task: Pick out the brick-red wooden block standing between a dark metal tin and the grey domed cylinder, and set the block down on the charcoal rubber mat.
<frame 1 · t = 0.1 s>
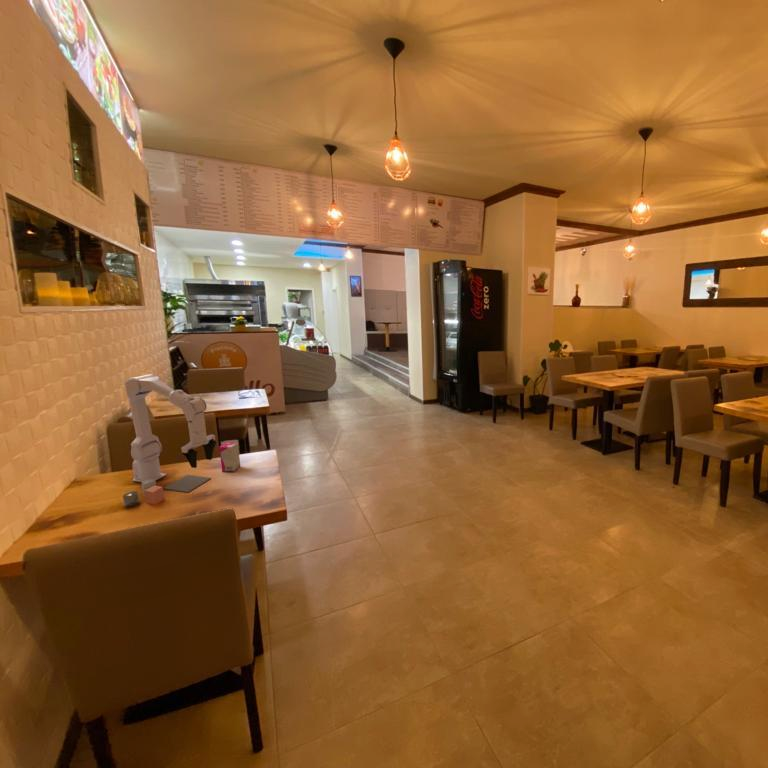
hand: (201, 463, 141), 10 cm above the table, tool pointing down, fingers open, 7 cm apart
charcoal mat: (187, 483, 146), on the table
supplement box: (231, 469, 159), on the table
metal tin: (132, 504, 132), on the table
grey domed cylinder: (150, 493, 139), on the table
red block: (155, 501, 134), on the table
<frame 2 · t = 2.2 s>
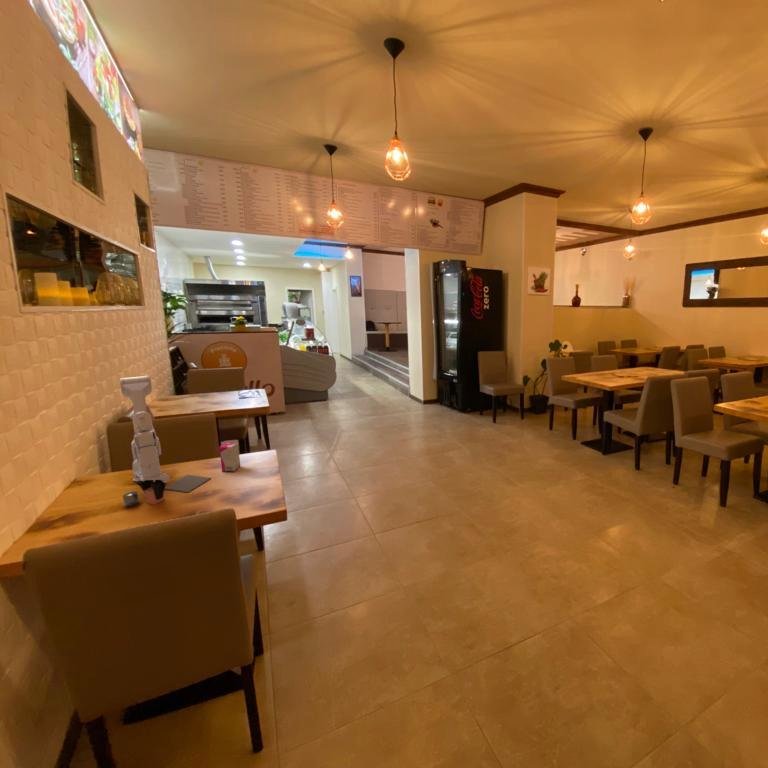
hand: (155, 497, 133), 1 cm above the table, tool pointing down, fingers closed on red block, 4 cm apart
red block: (155, 501, 133), on the table, touching gripper
everything else where it was.
when the fingers open (3 cm above the table, at t = 6.4 s): red block drops 1 cm, resting on charcoal mat.
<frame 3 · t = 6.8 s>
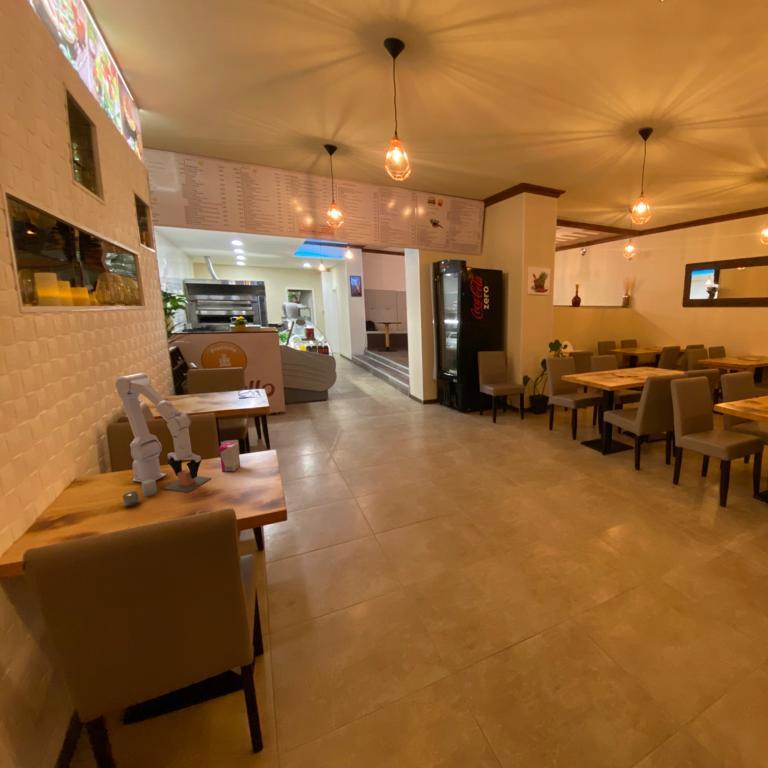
hand: (186, 476, 146), 3 cm above the table, tool pointing down, fingers open, 7 cm apart
red block: (187, 483, 146), resting on charcoal mat
everything else where it was.
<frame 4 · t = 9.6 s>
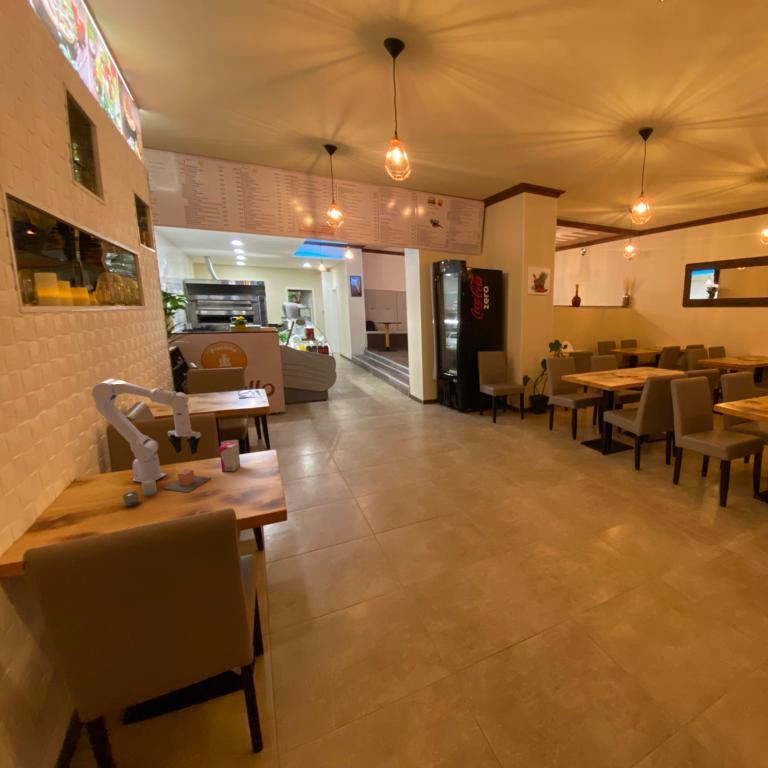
hand: (186, 452, 154), 9 cm above the table, tool pointing down, fingers open, 7 cm apart
nothing on the table moved.
at the end: red block inside the target area on the charcoal mat (0.3 cm from its centre), point 0.4 cm above the charcoal mat's base; red block tilted 0°; the gripper is holding nothing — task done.
